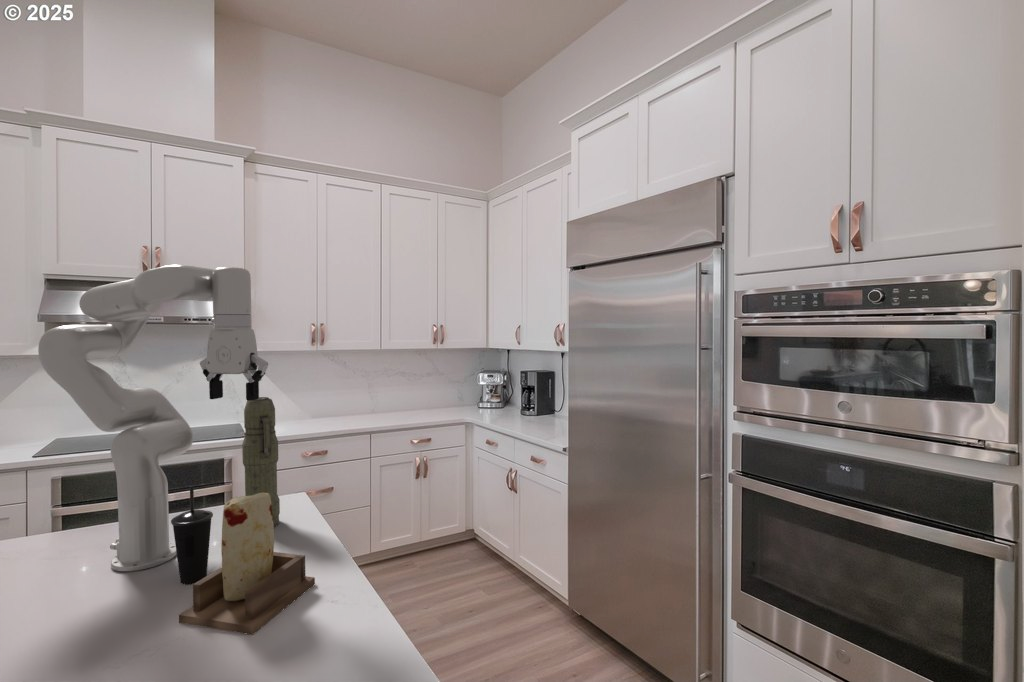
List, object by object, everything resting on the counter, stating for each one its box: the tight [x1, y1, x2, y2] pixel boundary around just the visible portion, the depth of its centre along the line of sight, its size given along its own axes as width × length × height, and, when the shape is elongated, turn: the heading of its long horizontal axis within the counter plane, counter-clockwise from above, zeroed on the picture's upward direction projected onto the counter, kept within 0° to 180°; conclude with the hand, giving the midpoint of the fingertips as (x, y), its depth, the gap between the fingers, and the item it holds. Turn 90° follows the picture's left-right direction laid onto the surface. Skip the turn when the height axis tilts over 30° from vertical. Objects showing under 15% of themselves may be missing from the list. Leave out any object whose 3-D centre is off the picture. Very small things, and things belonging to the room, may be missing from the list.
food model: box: [220, 493, 275, 601], centre depth 101 cm, size 10×7×20 cm
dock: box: [178, 551, 316, 636], centre depth 101 cm, size 16×18×6 cm
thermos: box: [241, 396, 281, 528], centre depth 139 cm, size 9×12×35 cm
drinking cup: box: [170, 486, 214, 586], centre depth 110 cm, size 8×8×20 cm
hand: (234, 399), depth 114 cm, fingers open, 9 cm apart
